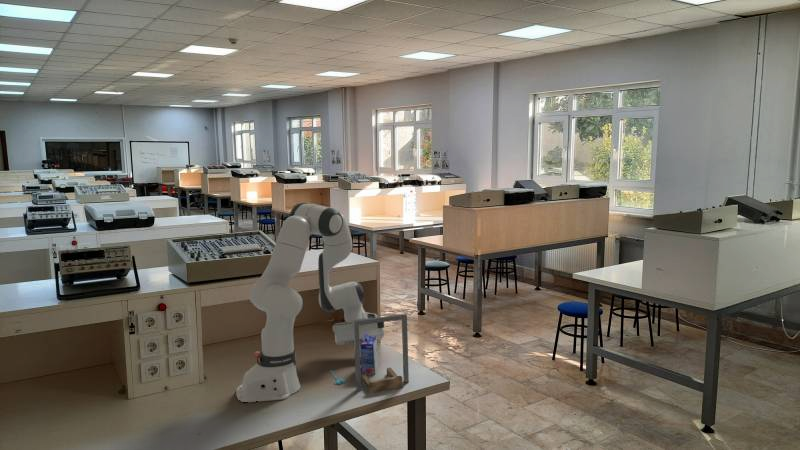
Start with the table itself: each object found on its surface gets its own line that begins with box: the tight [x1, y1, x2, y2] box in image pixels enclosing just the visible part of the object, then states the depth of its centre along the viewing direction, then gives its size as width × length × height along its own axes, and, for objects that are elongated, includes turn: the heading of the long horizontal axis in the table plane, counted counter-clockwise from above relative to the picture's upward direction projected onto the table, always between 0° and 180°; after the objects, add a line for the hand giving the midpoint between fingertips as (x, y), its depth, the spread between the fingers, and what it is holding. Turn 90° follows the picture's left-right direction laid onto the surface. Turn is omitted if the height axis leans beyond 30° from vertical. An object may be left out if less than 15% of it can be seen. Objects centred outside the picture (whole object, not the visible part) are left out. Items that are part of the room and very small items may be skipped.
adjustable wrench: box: [328, 369, 347, 386], centre depth 209 cm, size 14×1×5 cm
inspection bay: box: [361, 367, 403, 395], centre depth 202 cm, size 12×14×4 cm
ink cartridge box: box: [359, 332, 380, 375], centre depth 215 cm, size 10×6×14 cm, turn 174°
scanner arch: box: [353, 313, 410, 392], centre depth 199 cm, size 20×2×26 cm, turn 109°
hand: (363, 350), depth 224 cm, fingers closed
